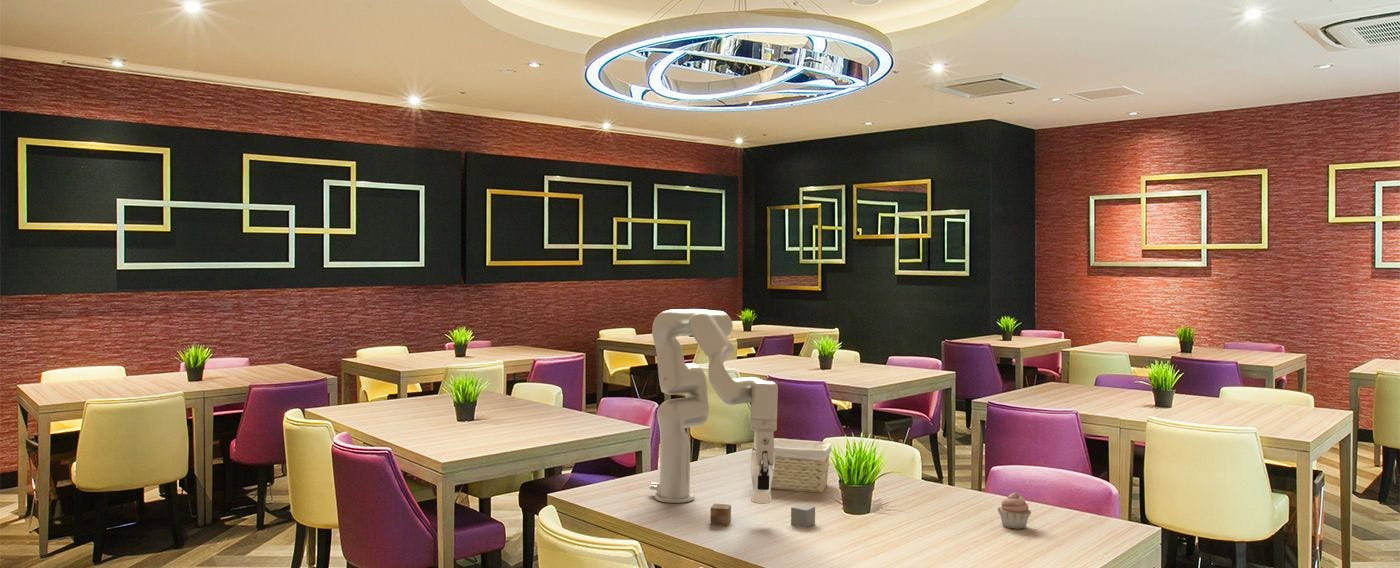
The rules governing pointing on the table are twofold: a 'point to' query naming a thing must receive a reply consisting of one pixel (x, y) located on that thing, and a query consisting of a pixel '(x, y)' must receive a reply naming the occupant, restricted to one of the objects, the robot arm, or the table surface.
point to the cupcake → (1014, 512)
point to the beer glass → (757, 495)
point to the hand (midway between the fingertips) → (761, 485)
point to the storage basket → (800, 465)
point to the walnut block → (720, 514)
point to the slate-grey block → (802, 515)
